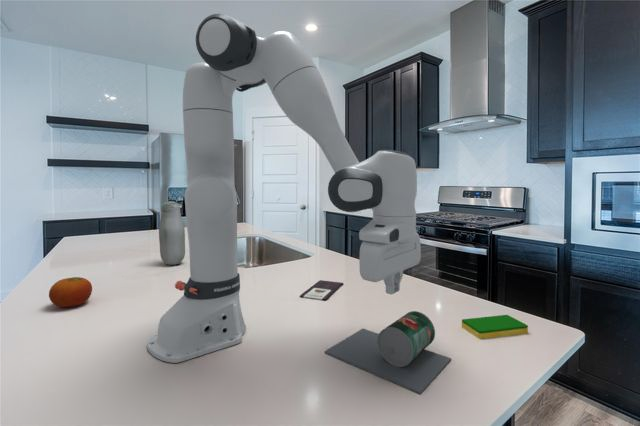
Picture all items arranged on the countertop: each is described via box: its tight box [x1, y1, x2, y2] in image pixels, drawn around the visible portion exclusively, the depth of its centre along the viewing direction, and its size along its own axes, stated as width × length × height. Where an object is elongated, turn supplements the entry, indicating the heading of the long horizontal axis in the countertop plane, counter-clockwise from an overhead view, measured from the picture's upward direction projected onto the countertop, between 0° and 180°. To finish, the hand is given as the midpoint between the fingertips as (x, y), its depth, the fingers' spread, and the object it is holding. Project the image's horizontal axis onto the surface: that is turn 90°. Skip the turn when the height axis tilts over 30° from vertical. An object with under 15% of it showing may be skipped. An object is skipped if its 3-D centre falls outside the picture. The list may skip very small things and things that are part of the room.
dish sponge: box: [461, 314, 529, 340], centre depth 86 cm, size 7×14×2 cm, turn 103°
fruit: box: [48, 276, 93, 308], centre depth 102 cm, size 11×10×8 cm
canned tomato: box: [377, 310, 436, 367], centre depth 72 cm, size 8×8×11 cm
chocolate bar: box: [299, 279, 344, 302], centre depth 116 cm, size 9×1×18 cm
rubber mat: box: [324, 328, 452, 395], centre depth 73 cm, size 15×22×1 cm
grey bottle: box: [158, 200, 186, 266], centre depth 149 cm, size 10×10×28 cm
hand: (392, 292), depth 73 cm, fingers closed
